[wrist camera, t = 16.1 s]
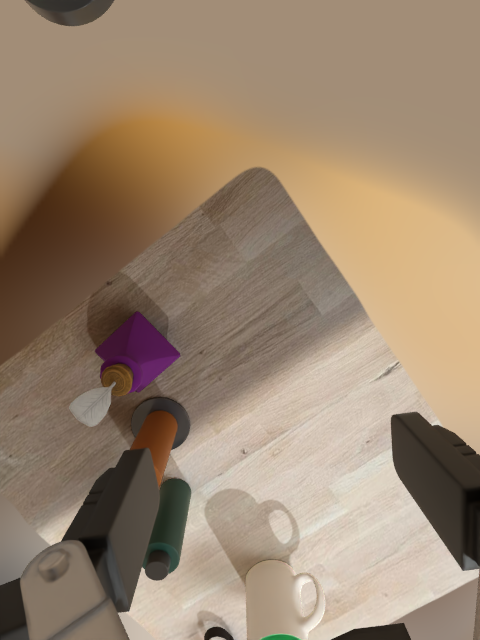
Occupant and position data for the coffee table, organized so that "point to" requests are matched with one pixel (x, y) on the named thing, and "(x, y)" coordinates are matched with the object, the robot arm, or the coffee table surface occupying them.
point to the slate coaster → (169, 407)
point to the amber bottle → (157, 439)
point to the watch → (217, 633)
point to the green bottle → (168, 530)
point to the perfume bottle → (125, 366)
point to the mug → (279, 602)
